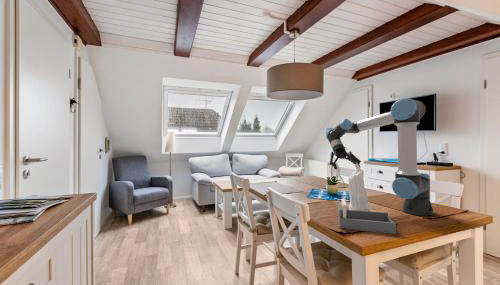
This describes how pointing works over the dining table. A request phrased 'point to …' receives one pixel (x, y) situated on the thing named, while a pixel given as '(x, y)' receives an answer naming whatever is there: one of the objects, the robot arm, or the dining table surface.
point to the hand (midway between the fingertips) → (349, 172)
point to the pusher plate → (343, 208)
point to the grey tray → (366, 221)
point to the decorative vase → (357, 192)
